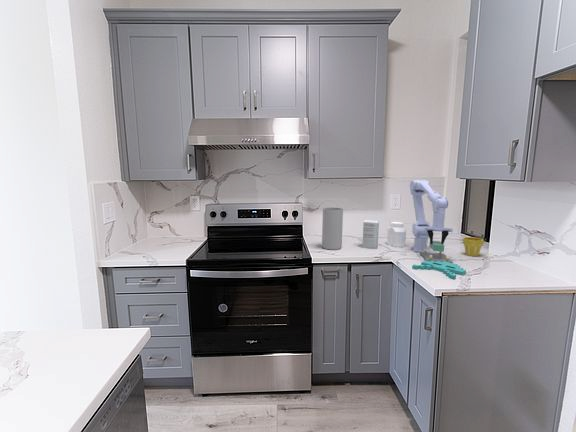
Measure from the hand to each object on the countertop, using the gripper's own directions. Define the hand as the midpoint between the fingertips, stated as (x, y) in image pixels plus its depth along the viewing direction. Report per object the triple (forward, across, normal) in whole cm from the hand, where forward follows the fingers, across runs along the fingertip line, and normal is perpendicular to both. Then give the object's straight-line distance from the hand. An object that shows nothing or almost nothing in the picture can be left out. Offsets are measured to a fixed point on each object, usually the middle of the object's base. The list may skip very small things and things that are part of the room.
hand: (436, 244), depth 171 cm
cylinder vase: (+8, -59, +10) cm, 60 cm away
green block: (+3, 0, 0) cm, 3 cm away
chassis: (+8, 0, 0) cm, 8 cm away
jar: (+9, -18, +28) cm, 34 cm away
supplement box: (+9, -35, +19) cm, 41 cm away
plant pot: (+9, +23, +14) cm, 28 cm away
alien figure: (+9, -2, -21) cm, 23 cm away
